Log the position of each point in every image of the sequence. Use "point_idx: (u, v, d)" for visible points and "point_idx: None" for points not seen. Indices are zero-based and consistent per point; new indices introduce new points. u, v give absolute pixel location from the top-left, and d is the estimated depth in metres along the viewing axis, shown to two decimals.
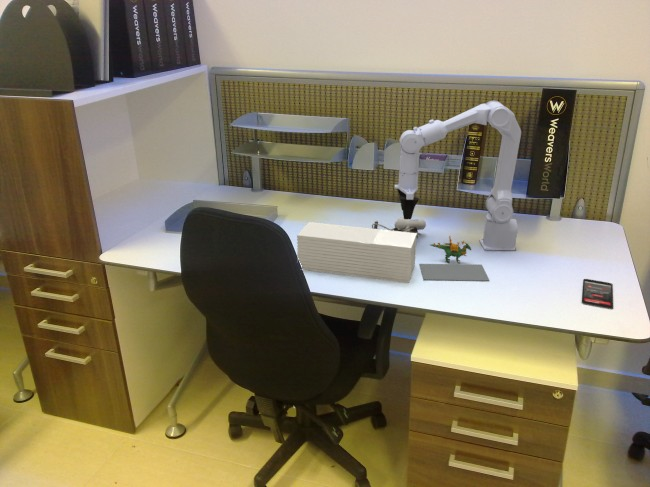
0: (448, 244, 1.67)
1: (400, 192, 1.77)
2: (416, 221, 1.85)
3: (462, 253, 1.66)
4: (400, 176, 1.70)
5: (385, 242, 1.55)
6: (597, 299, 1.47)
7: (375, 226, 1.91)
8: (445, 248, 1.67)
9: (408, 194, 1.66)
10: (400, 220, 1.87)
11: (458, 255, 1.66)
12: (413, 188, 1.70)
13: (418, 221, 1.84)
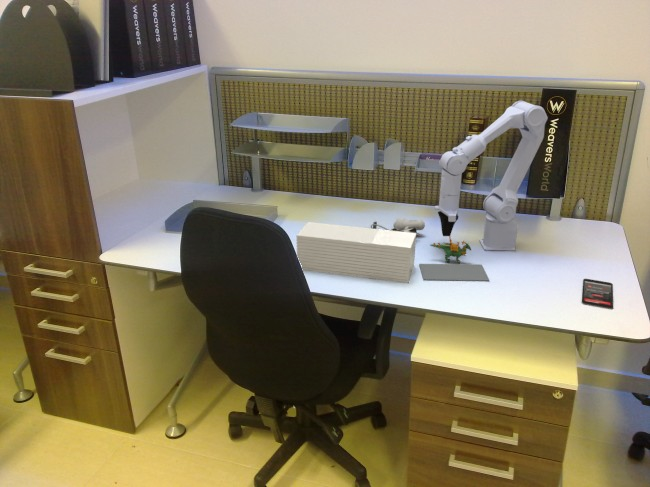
0: (448, 244, 1.67)
1: None
2: (415, 221, 1.85)
3: (462, 253, 1.66)
4: (441, 197, 1.68)
5: (384, 242, 1.55)
6: (597, 299, 1.47)
7: (374, 226, 1.91)
8: (445, 248, 1.67)
9: (450, 216, 1.64)
10: (399, 220, 1.87)
11: (458, 255, 1.66)
12: (454, 210, 1.68)
13: (417, 221, 1.84)
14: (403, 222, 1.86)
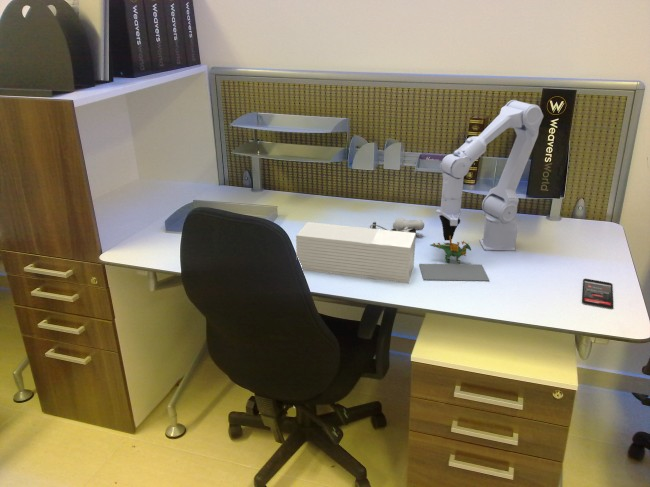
0: (448, 244, 1.67)
1: None
2: (414, 221, 1.84)
3: (462, 253, 1.66)
4: (443, 201, 1.65)
5: (384, 242, 1.55)
6: (597, 299, 1.47)
7: (373, 227, 1.91)
8: (445, 248, 1.67)
9: (452, 220, 1.61)
10: (398, 221, 1.86)
11: (458, 255, 1.66)
12: (456, 213, 1.65)
13: (416, 222, 1.84)
14: (402, 222, 1.86)
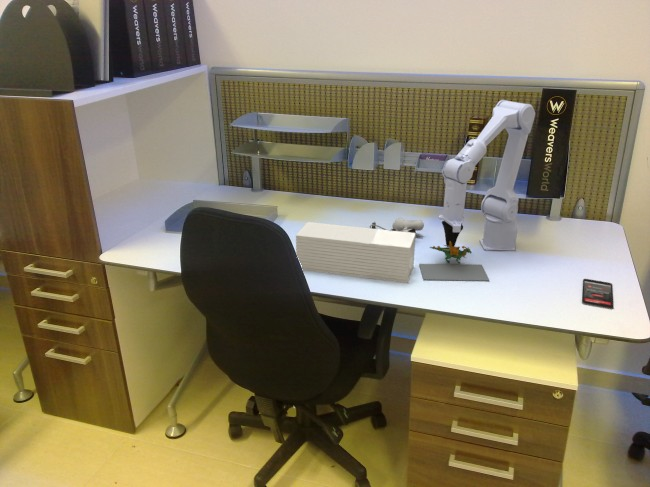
0: (448, 248, 1.64)
1: None
2: (414, 221, 1.84)
3: (462, 256, 1.65)
4: (445, 207, 1.60)
5: (383, 242, 1.55)
6: (597, 299, 1.47)
7: (373, 227, 1.90)
8: (445, 251, 1.65)
9: (455, 227, 1.56)
10: (398, 221, 1.86)
11: (458, 257, 1.65)
12: (459, 219, 1.60)
13: (416, 222, 1.84)
14: (402, 222, 1.86)
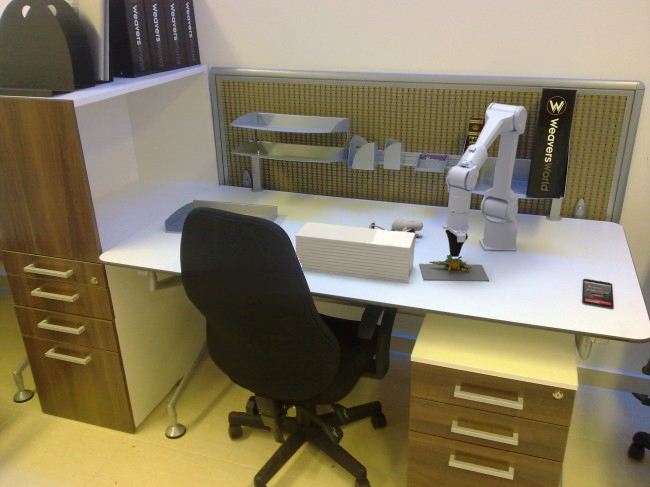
0: (448, 266, 1.62)
1: None
2: (413, 222, 1.84)
3: None
4: (449, 215, 1.54)
5: (383, 242, 1.55)
6: (597, 299, 1.47)
7: (372, 227, 1.90)
8: (445, 265, 1.63)
9: (460, 236, 1.50)
10: (397, 221, 1.86)
11: None
12: (464, 228, 1.54)
13: (415, 222, 1.83)
14: (401, 223, 1.86)
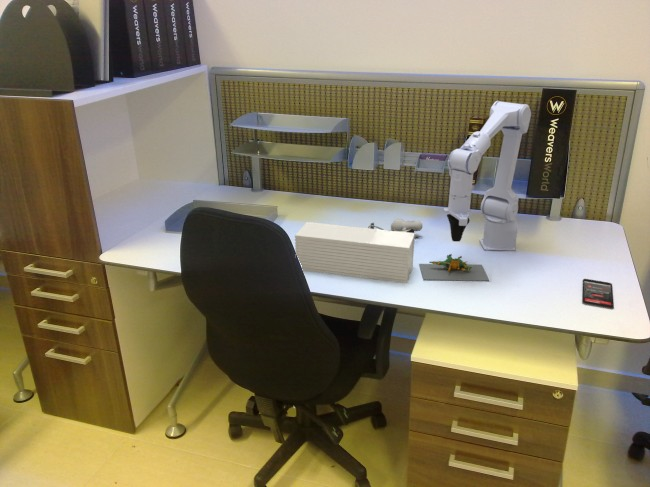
0: (448, 266, 1.62)
1: None
2: (412, 222, 1.84)
3: None
4: (451, 199, 1.53)
5: (383, 242, 1.55)
6: (597, 299, 1.47)
7: (371, 228, 1.90)
8: (445, 265, 1.63)
9: (461, 220, 1.49)
10: (396, 221, 1.86)
11: None
12: (465, 212, 1.53)
13: (415, 222, 1.83)
14: (401, 223, 1.85)
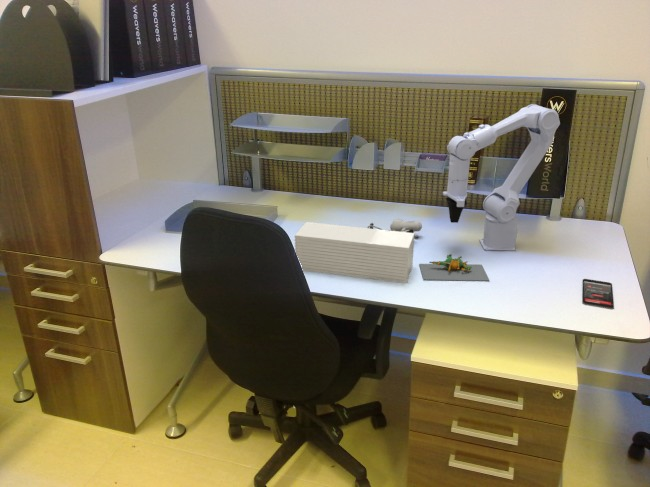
0: (448, 266, 1.62)
1: None
2: (412, 222, 1.84)
3: None
4: (449, 183, 1.66)
5: (382, 242, 1.55)
6: (598, 299, 1.47)
7: (371, 228, 1.90)
8: (445, 265, 1.63)
9: (459, 201, 1.62)
10: (396, 222, 1.85)
11: None
12: (463, 195, 1.66)
13: (414, 223, 1.83)
14: (400, 223, 1.85)
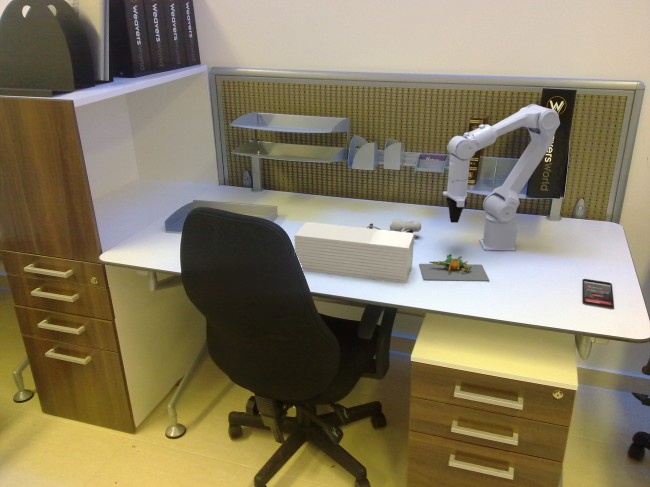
0: (448, 266, 1.62)
1: None
2: (411, 223, 1.83)
3: None
4: (449, 183, 1.66)
5: (382, 242, 1.55)
6: (598, 299, 1.47)
7: (370, 228, 1.89)
8: (445, 265, 1.63)
9: (459, 201, 1.62)
10: (395, 222, 1.85)
11: None
12: (463, 195, 1.66)
13: (413, 223, 1.83)
14: (399, 224, 1.85)
